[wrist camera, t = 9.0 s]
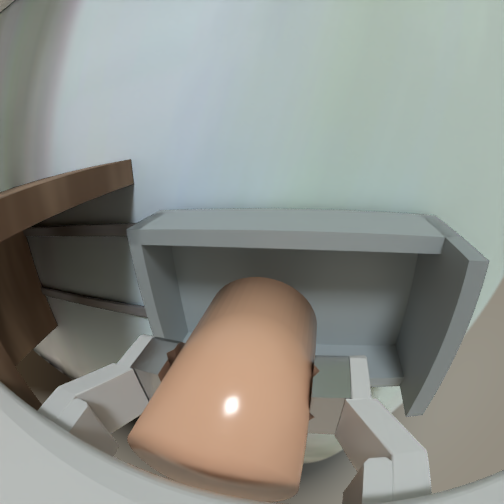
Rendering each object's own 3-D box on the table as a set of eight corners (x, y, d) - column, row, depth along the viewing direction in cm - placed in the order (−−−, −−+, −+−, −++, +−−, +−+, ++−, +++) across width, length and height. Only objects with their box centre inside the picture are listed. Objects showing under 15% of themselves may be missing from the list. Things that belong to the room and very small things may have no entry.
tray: (184, 333, 15) (147, 391, 11) (160, 210, 12) (96, 248, 8) (404, 346, 12) (422, 415, 8) (435, 215, 10) (489, 260, 6)
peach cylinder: (217, 357, 11) (159, 479, 6) (202, 274, 10) (99, 407, 4) (313, 366, 10) (293, 508, 5) (319, 279, 9) (306, 457, 3)
